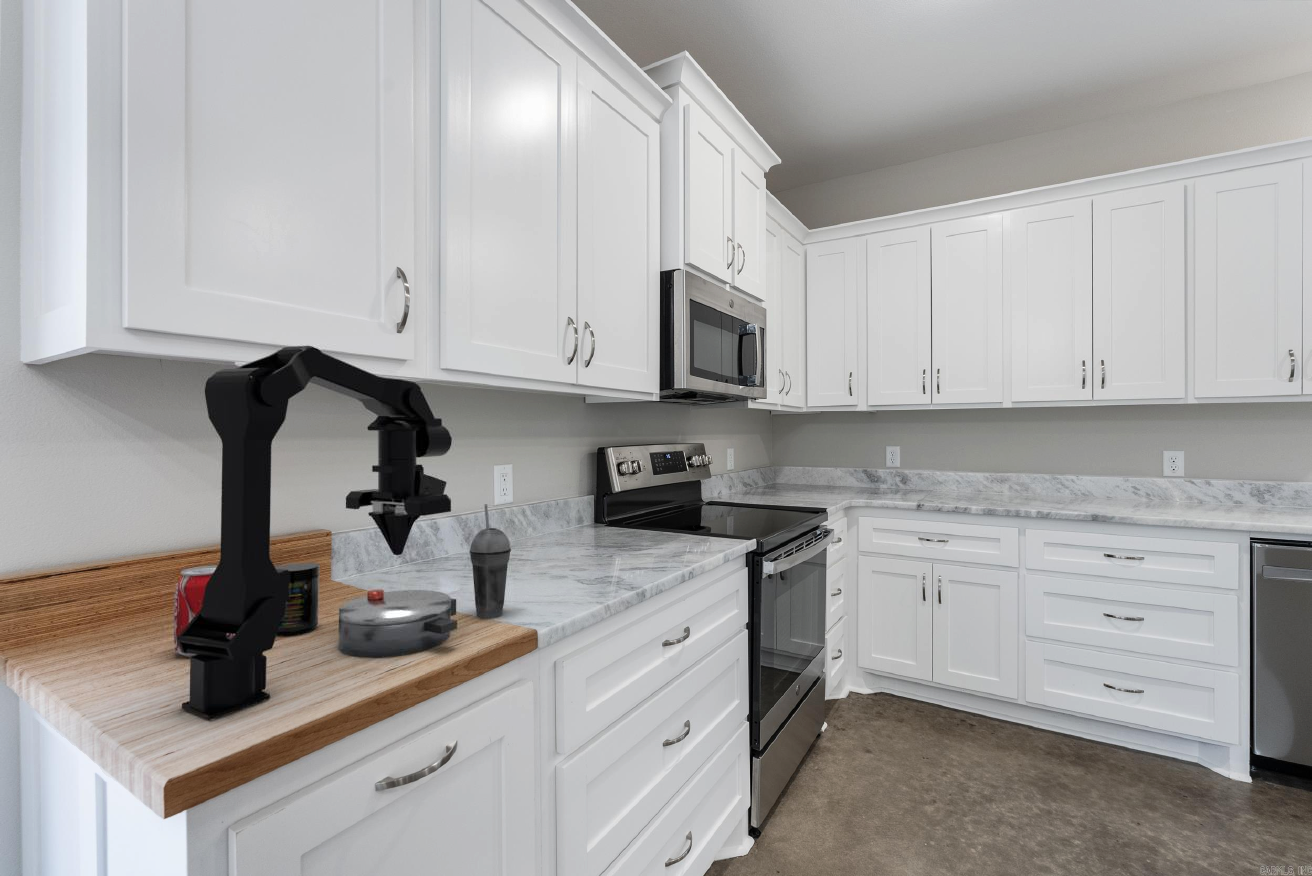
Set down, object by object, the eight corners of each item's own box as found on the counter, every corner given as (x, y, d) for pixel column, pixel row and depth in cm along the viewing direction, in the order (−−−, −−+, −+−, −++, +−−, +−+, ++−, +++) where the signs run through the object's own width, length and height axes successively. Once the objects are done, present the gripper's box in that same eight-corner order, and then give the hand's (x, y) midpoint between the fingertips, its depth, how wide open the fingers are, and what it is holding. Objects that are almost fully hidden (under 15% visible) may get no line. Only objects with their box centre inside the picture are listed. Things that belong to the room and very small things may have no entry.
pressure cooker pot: (403, 669, 80) (404, 636, 80) (301, 642, 90) (301, 612, 90) (495, 632, 96) (496, 604, 96) (399, 612, 106) (400, 587, 106)
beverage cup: (519, 613, 107) (520, 503, 107) (487, 623, 101) (489, 506, 101) (491, 606, 111) (492, 500, 111) (459, 616, 104) (461, 503, 105)
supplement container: (322, 631, 96) (323, 567, 96) (273, 640, 91) (274, 572, 91) (314, 621, 101) (315, 560, 101) (267, 629, 96) (268, 565, 96)
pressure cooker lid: (387, 631, 81) (387, 615, 81) (315, 615, 89) (315, 600, 89) (472, 603, 96) (472, 590, 96) (404, 591, 103) (404, 578, 103)
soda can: (201, 661, 82) (202, 575, 82) (160, 657, 83) (161, 573, 84) (246, 644, 89) (247, 565, 89) (207, 641, 90) (208, 563, 90)
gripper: (476, 458, 98) (476, 551, 98) (401, 455, 107) (401, 541, 107) (421, 461, 88) (421, 564, 88) (343, 458, 97) (343, 552, 97)
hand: (397, 554), depth 96 cm, fingers closed
